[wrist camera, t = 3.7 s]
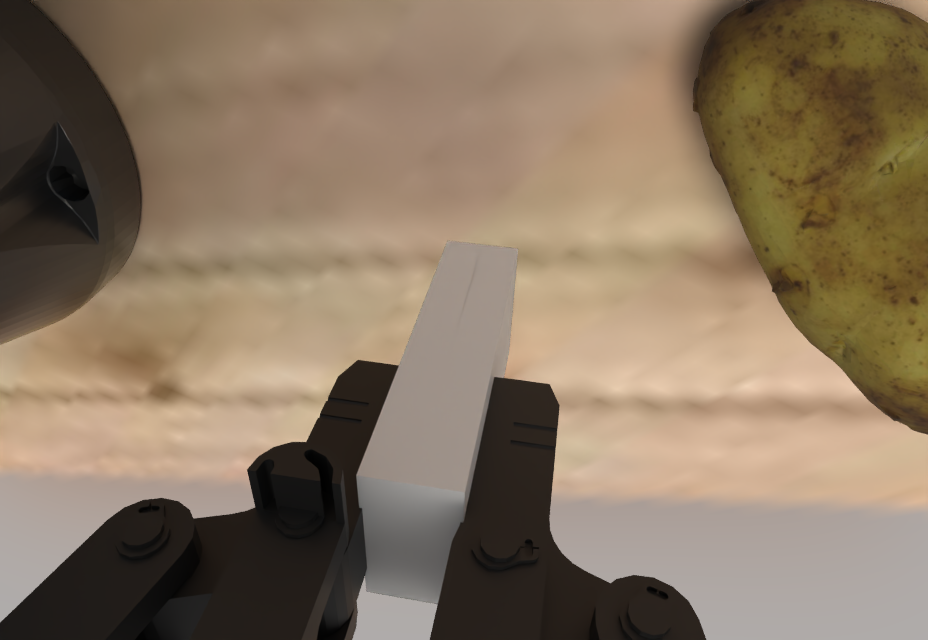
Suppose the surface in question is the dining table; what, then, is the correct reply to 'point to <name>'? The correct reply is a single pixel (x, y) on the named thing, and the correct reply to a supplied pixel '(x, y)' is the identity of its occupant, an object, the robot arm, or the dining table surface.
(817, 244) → the potato
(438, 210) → the dining table surface
